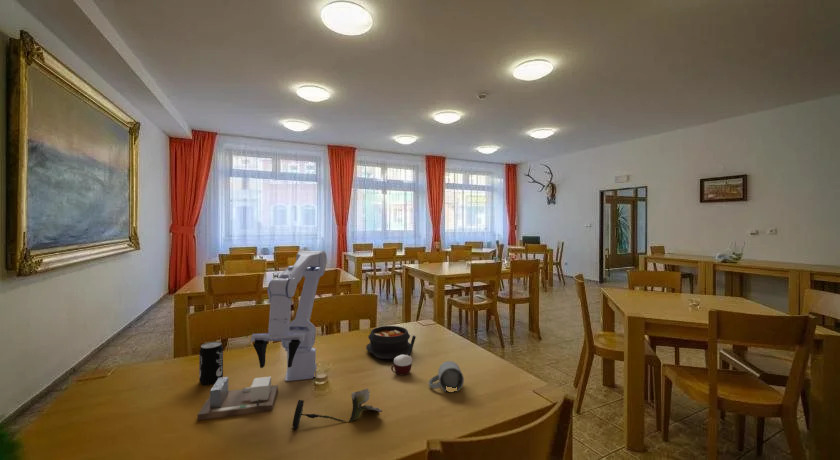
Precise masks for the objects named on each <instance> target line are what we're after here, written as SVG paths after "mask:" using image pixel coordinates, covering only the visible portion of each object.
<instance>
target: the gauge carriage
mask: <svg viewBox="0 0 840 460" xmlns="http://www.w3.org/2000/svg"><path fill="white" fill-rule="evenodd" d="M271 386H272V376H263V377H262V376H261V377H254V379H253V381H252V383H251V385H250V387H248V386H247V387H243V388H242V389H243V391H242V392H243V393H251V402H253V401H258V402H257V405H259V403H260V401H261V400H268V398H269V395H270V392H271Z"/></svg>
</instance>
